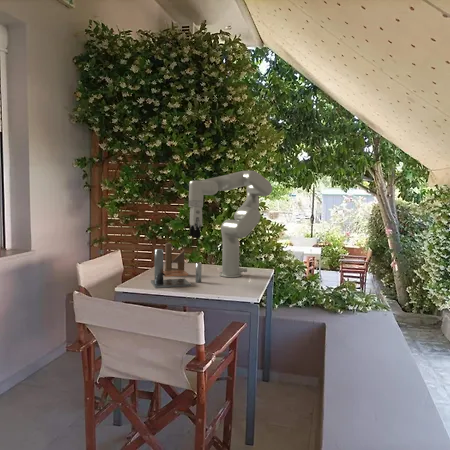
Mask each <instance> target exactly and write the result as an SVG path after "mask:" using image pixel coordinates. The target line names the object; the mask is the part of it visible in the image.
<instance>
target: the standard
mask: <svg viewBox="0 0 450 450" xmlns="http://www.w3.org/2000/svg"><path fill="white" fill-rule="evenodd" d="M185 276H186V277H188V276H189V273H188V271H186V270H185V269H184V270H174V271H165V270H164V249H163V248H155V249H154V280H150V284H152V286H153V287H154V288H155V289H163V288H179V287H180V288H181V287H192V283H191V282H189V281H188V280H187V279H186V278H171V277H185ZM164 277H165V278H166V279H164ZM169 277H170V278H171V279H170V278H169ZM167 278H169V279H167Z"/></svg>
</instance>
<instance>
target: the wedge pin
mask: <svg viewBox="0 0 450 450" xmlns="http://www.w3.org/2000/svg"><path fill="white" fill-rule="evenodd" d="M195 283H196V284H197V283H198V284H199V283H200V284H201V283H202V262H195Z"/></svg>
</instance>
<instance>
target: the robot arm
mask: <svg viewBox="0 0 450 450" xmlns="http://www.w3.org/2000/svg"><path fill="white" fill-rule="evenodd" d="M242 187H246V199H245V201H244V202H243V203H242V204H241V206H239V207H238V209H237V210H236V211H235V213H234V215H233V218H234V219H227V220H224V221H223V222H222V223H221V226H220V232H221V240H222V249H221V250H222V252H221V253H222V254H221V255H222V258H221V259H222V261H221V262H222V263H221V265H222V266H221V267H222V268H221V269H222V271H221V272H219V276H220V277H222V278H239V277H240V278H241V277H242V275H243V274H242V273H247V272H248V269H247V268H242V267H240V241H239V239H244V238H247V236H249V234H251V232H252V231H253V230H254V229H255V227H256V226H257V225H258V224H259V223H260V219H261V213H260V212H261V211H259V207H260V200H259V197H268V196H270V195H271V194H272V191H273V186H272V183H271V182H270V181H269V180H267V179H266V178H265V177H264V176H263V175H262V174H260V173H259V172H257V171H256V170H241V171H236V172H233V173H229V174H224V175H219V176H215V177H210V178H206V179H202V180H190V181H189V184H188V208H189V226H190V227H189V236H190V237H193V238H194V239H200V238H201V227H202V226H203V207H204V196H214V195H216V194H217V193H218V191H219V192H221V191H223V192H225V191H226V192H227V191H231V190H236V189H238V188H242Z"/></svg>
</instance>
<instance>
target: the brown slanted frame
mask: <svg viewBox="0 0 450 450" xmlns="http://www.w3.org/2000/svg"><path fill="white" fill-rule="evenodd" d="M164 246H165V247H164V248H165V250H164V253H165V254H164V255H165V257H164V258H165V259H164V261H165V263H164V266H165V268H164V271H174V270H184V271H185V249H182V251H181V252H180V253H179V254H178V255H176V257H174V259H172V258H173V257H172V256H173V251H172V250H173V244H172V243H171V242H166V243H165V245H164ZM173 264H177V267H172V266H173Z"/></svg>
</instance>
